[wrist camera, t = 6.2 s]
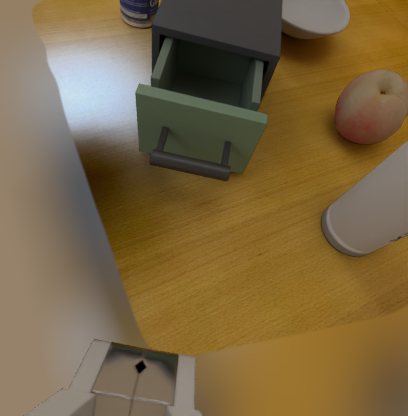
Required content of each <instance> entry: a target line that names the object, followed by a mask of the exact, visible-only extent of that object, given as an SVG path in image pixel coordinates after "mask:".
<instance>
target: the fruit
mask: <svg viewBox="0 0 408 416" xmlns="http://www.w3.org/2000/svg"><path fill="white" fill-rule="evenodd" d="M407 114H408V84H407V83H406V81H405V80H404V79H403V78H402V77H401V76H400V75H398V74H397V73H395V72H393V71H390V70H385V69H384V70H374V71H370V72H367V73H365V74H362V75H360V76H358V77H357V78H355V79H354V80H353V81H351V82H350V83H349V84H348V85H347V87H346V88H345V89H344V90H343V92H342V93H341V95H340V96H339V98H338V100H337V104H336V111H335V124H336V128H337V130H338V132H339V133H340V134H341V136H343V137H344V138H346V139H347V140H349V141H351V142H354V143H358V144H373V143H377V142H381V141H383V140H385V139H387V138H388V137H390V136H391V135H393V134H394V133H395V132H396V131H397V130H398V129H399V128H400V127H401V125H402V123H403V121H404V119H405V118H406V116H407Z"/></svg>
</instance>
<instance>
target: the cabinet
mask: <svg viewBox="0 0 408 416" xmlns="http://www.w3.org/2000/svg"><path fill="white" fill-rule="evenodd" d="M282 4H283V0H162V1H161V3H160V6H159V8H158V10H157V13H156V15H155V18H154V20H153V22H152V73H153V70H154V68H155V65H156V62H157V59H158V57H159V54H160V51H161V49H162V46H163V43H164V40H165V38H166V36H169V37H173V38H177V39H181V40H185V41H189V42H193V43H197V44H201V45H205V46H209V47H213V48H217V49H221V50H225V51H229V52H233V53H237V54H241V55H245V56H249V57H253V58H257V59H261V60H264V64H263V76H262V88H261V100H260V103H261V101H262V98H263V96H264V94H265V91H266V89H267V87H268V84H269V82H270V80H271V77H272V75H273V73H274V70H275V68H276V66H277V63H278V61H279V59H280V53H281V28H282ZM259 106H260V105H259ZM258 108H259V107H258Z"/></svg>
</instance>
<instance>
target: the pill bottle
mask: <svg viewBox="0 0 408 416" xmlns="http://www.w3.org/2000/svg"><path fill="white" fill-rule="evenodd" d="M158 5H159V0H120V8H121V16H122V18H123V20H124V21H125V22H126V23H128V24H129V25H131V26H134V27H140V28H145V27H150V26H152V22H153V20H154V18H155V15H156V13H157V10H158Z"/></svg>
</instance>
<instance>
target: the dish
mask: <svg viewBox="0 0 408 416" xmlns="http://www.w3.org/2000/svg"><path fill="white" fill-rule="evenodd" d="M349 20H350V13H349V9H348V6H347V4H346V3H345V1H344V0H283V4H282V28H281V31H282V32H284V33H286V34H288V35H290V36H292V37H295V38H300V39H316V38H320V37H324V36H327V35H331V34H336V33H339V32H341V31H343V30H344V29H345V28H346V27H347V25H348V23H349Z"/></svg>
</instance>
